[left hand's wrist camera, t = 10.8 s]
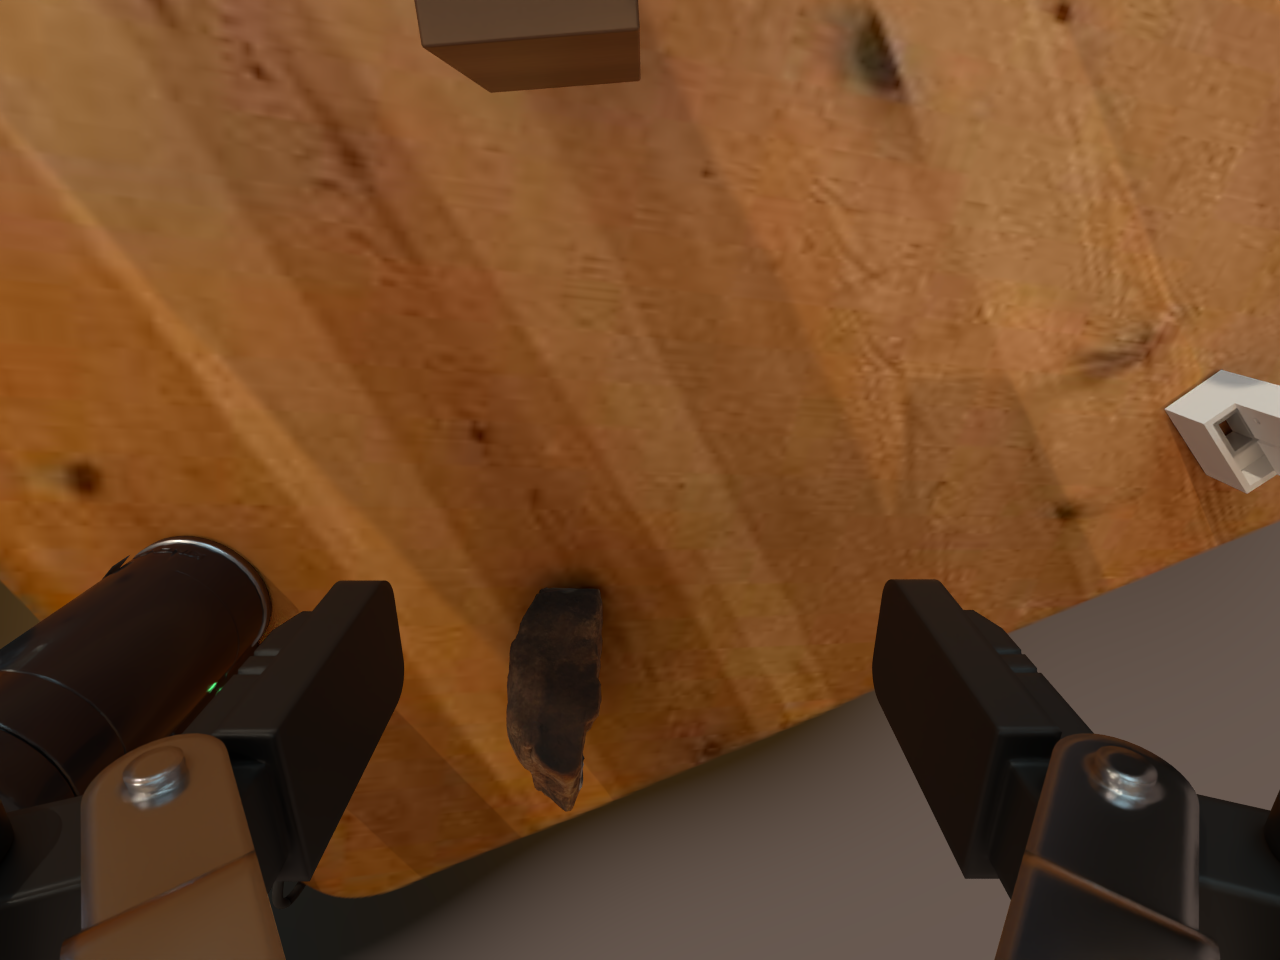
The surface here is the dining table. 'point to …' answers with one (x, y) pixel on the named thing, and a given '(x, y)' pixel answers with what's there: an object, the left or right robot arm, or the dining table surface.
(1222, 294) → the dining table surface
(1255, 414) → the white angled block
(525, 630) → the decorative rock
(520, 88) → the box
